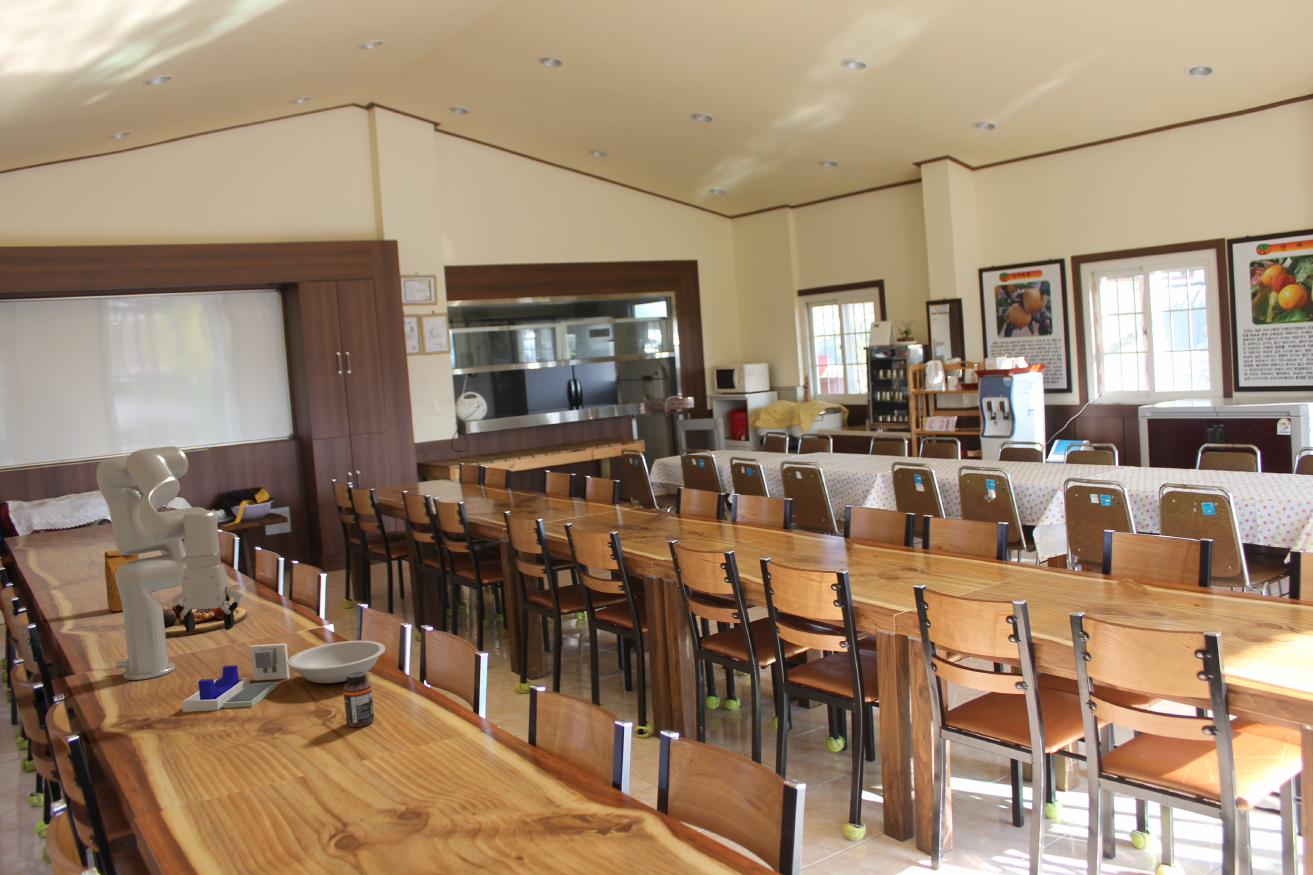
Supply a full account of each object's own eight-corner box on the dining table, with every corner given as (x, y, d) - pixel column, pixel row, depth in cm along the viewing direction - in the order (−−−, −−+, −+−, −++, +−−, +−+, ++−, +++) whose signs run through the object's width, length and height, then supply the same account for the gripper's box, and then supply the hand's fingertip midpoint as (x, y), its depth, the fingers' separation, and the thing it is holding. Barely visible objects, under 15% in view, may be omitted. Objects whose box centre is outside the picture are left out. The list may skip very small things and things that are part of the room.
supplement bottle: (345, 721, 213) (340, 672, 212) (372, 716, 215) (368, 667, 215) (347, 730, 208) (343, 679, 207) (376, 724, 210) (371, 674, 209)
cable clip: (222, 688, 241) (220, 665, 241) (239, 688, 241) (237, 665, 240) (194, 705, 230) (192, 681, 229) (212, 705, 229) (209, 680, 229)
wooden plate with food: (267, 617, 318) (264, 593, 318) (173, 642, 292) (171, 616, 291) (214, 610, 336) (211, 587, 336) (121, 633, 310) (119, 608, 310)
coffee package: (151, 607, 344) (145, 547, 342) (112, 614, 336) (106, 553, 334) (144, 603, 352) (138, 544, 350) (106, 610, 343) (99, 550, 342)
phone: (223, 707, 228) (223, 702, 228) (250, 688, 242) (249, 682, 242) (252, 706, 227) (251, 700, 227) (277, 686, 241) (276, 681, 241)
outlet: (248, 684, 245) (244, 650, 244) (256, 678, 249) (252, 645, 249) (282, 682, 245) (279, 648, 244) (289, 676, 249) (286, 643, 248)
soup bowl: (405, 666, 252) (403, 641, 252) (348, 697, 230) (346, 670, 229) (330, 662, 260) (328, 638, 260) (268, 692, 238) (266, 666, 237)
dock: (182, 711, 227) (181, 702, 227) (216, 688, 243) (216, 679, 243) (218, 709, 226) (217, 700, 226) (249, 686, 243) (248, 677, 243)
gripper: (160, 566, 229) (167, 635, 230) (231, 562, 228) (237, 632, 230) (177, 559, 236) (183, 626, 238) (245, 556, 236) (251, 623, 237)
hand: (210, 629), depth 234 cm, fingers open, 9 cm apart
